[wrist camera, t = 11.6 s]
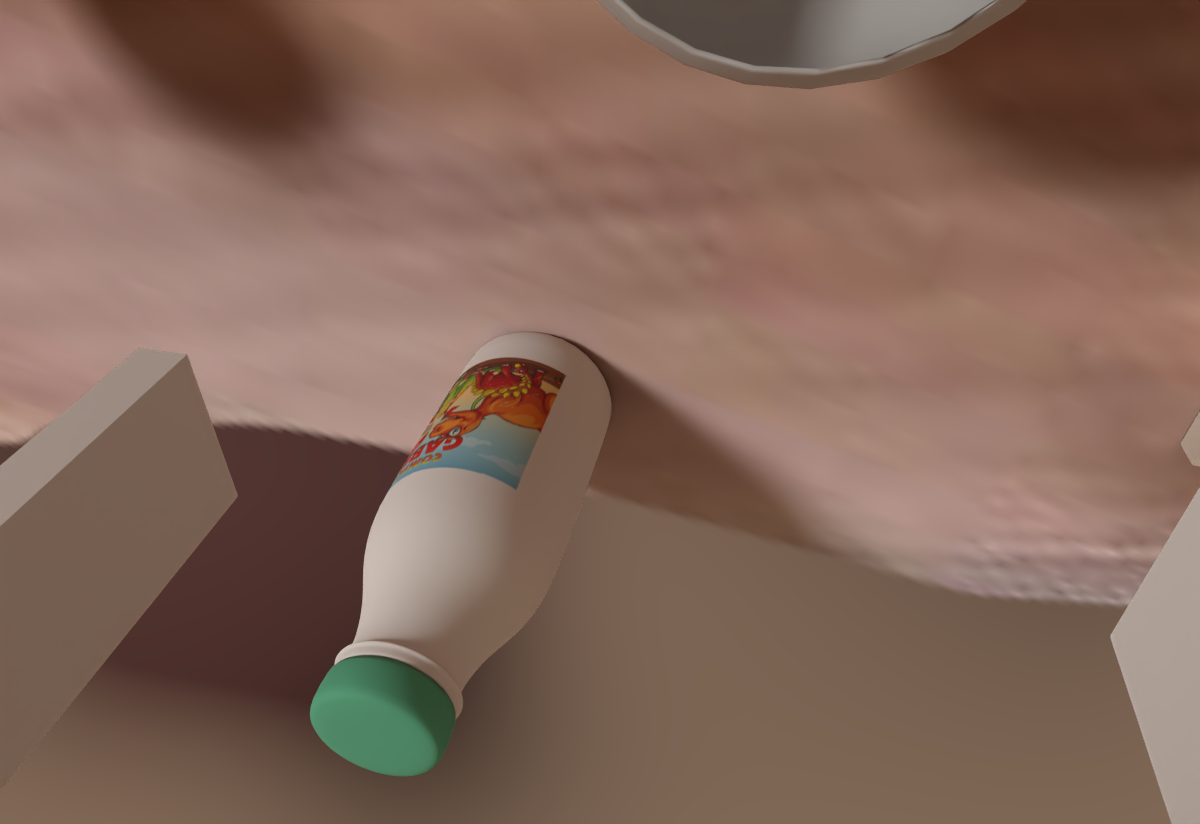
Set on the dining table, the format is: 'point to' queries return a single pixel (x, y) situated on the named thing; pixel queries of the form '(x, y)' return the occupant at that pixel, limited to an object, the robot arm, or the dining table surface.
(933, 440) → the dining table surface
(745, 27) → the chalice
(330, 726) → the milk bottle
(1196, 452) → the holder
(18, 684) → the robot arm
